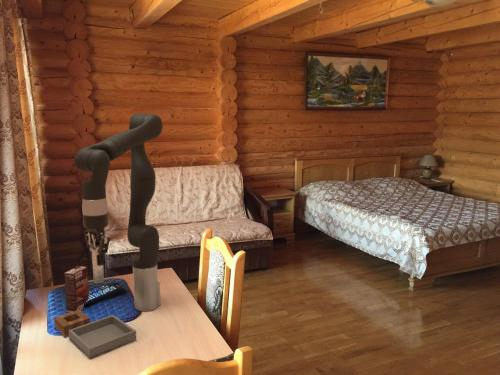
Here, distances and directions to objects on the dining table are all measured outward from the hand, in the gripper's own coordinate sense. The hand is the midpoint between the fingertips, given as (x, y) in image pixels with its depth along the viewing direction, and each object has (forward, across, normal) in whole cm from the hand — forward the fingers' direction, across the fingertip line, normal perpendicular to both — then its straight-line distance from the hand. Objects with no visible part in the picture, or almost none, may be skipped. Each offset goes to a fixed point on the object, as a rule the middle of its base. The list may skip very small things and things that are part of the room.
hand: (98, 263), depth 138 cm
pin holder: (+27, +15, +4) cm, 31 cm away
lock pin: (+6, 0, 0) cm, 6 cm away
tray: (+27, 0, 0) cm, 27 cm away
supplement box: (+27, +29, -4) cm, 40 cm away
